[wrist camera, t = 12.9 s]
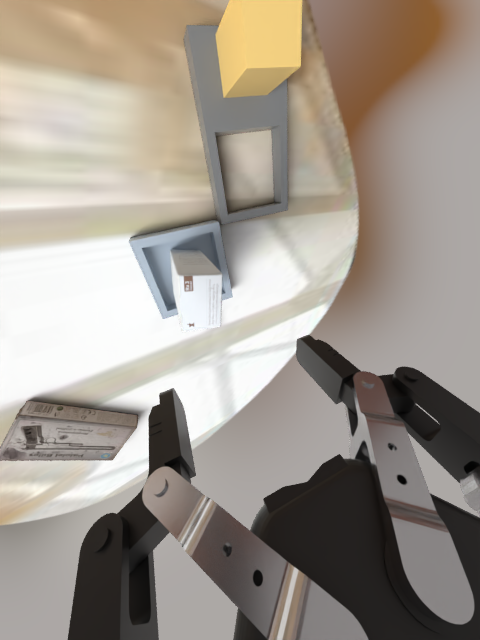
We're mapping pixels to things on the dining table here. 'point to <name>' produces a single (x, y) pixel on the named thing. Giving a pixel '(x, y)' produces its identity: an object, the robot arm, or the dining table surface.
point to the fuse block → (245, 86)
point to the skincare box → (196, 290)
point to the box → (66, 433)
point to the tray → (157, 261)
